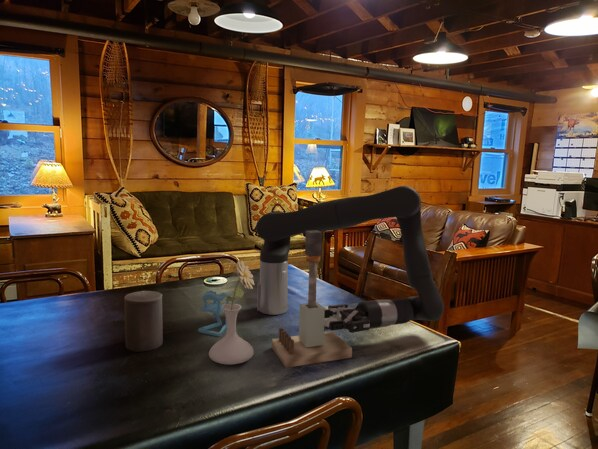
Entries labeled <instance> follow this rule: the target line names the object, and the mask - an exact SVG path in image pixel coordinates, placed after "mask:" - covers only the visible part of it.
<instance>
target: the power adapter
mask: <svg viewBox="0 0 598 449" xmlns="http://www.w3.org/2000/svg"><path fill="white" fill-rule="evenodd" d="M331 305H332V304H331ZM331 305H323V307H324V308H325V310H327V309H328V306H331ZM333 312H335V311H333ZM340 317H341V314H340ZM331 321H339V320H337V319H336V318H324V328H329V323H330V322H331Z"/></svg>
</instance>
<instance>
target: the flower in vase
mask: <svg viewBox="0 0 598 449" xmlns="http://www.w3.org/2000/svg"><path fill="white" fill-rule="evenodd" d="M235 268H236V271H235V272H236V273H237V277H238V280H237V282H236V285H235V287H234V292H233V295H232V297H231V295H230V296H228V297H226V299H225V301H229V302H231V303H229V304H225V303H224V304H225V305H223V306H222V307H221V309H222V310H223V311H224V313H223V314H224V315H225V319H226V321H227V329H226V333H225V335H224V336H223V337H222V338H220V339H219V340H218V341H217V342H216V343H214V344H213V345H212V346H211V347H210V350H209V351H208V357H209V358H210V359H211V361H213V362H214V363H217V364H221V365H238V364H242V363H245V362H247V361H249V360H251V359H252V357H253V356H254V354H255V351H254V347H253V346H252V345H251V344H250V343H249V342H248V341H246V340H245V339H244V338H242V337H241V336H239V335H238V333H237V325H236V324H237V317H238V315H239V314H238V313H239V312H240V310H241V309H242V305H240V304H239V303H234V300H236V299H237V298H239V299H242V298H243V296H244V294H245V292H244V291H243V289H241V288H240V287H238V285H239V284H240V283H241V285H243V286H244V288H245V289H247V290H254V288H253V286H255V282H254V275H253V274H252V272H251V271H250V270H249V268H250V267H249V265H245V262H244V261H243V260H240V261H239V260H237V262H236V266H235ZM235 296H236V297H237V298H236V297H235Z"/></svg>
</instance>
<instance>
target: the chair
mask: <svg viewBox="0 0 598 449" xmlns="http://www.w3.org/2000/svg"><path fill="white" fill-rule="evenodd" d="M231 295H232V294H231V293H229V294H228V293H225V292H222V293H219V294H217V291H213V290H208V291H206V292H205V293H204V294H202V296H201V297H202V300H203V306H202V307H201V308H200V311H201V312H206V313H212V314H213V316H214V317H215V318H214V319H216V321H217V322H214V323H211V324H208V325H204V326H201V327H199V328H198V329H197V330H198V333H201V334H206V335H208V336H209V335H211V336H214V337H219V338H220V337H221V336H223V334H224V333H225V331H227V321H226V318H225V320H224V321H225V322H224V324H223V321H222V320H221V318H220V316H219V315H222V314H225V313H224V311H223V310H222V309H221V307H222V306H223V305H225V303H221V302H222V301H223V300H224V299H225V298H227V297H228V296H230V297H231ZM207 300H211V301H213V302H211V303H210V304H208V301H207ZM225 301H226V304H230V301H227V300H225ZM221 326H222V328H221V329H220V331H219V332H218V331H213V330H210V329H213V328H217V327H221Z"/></svg>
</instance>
